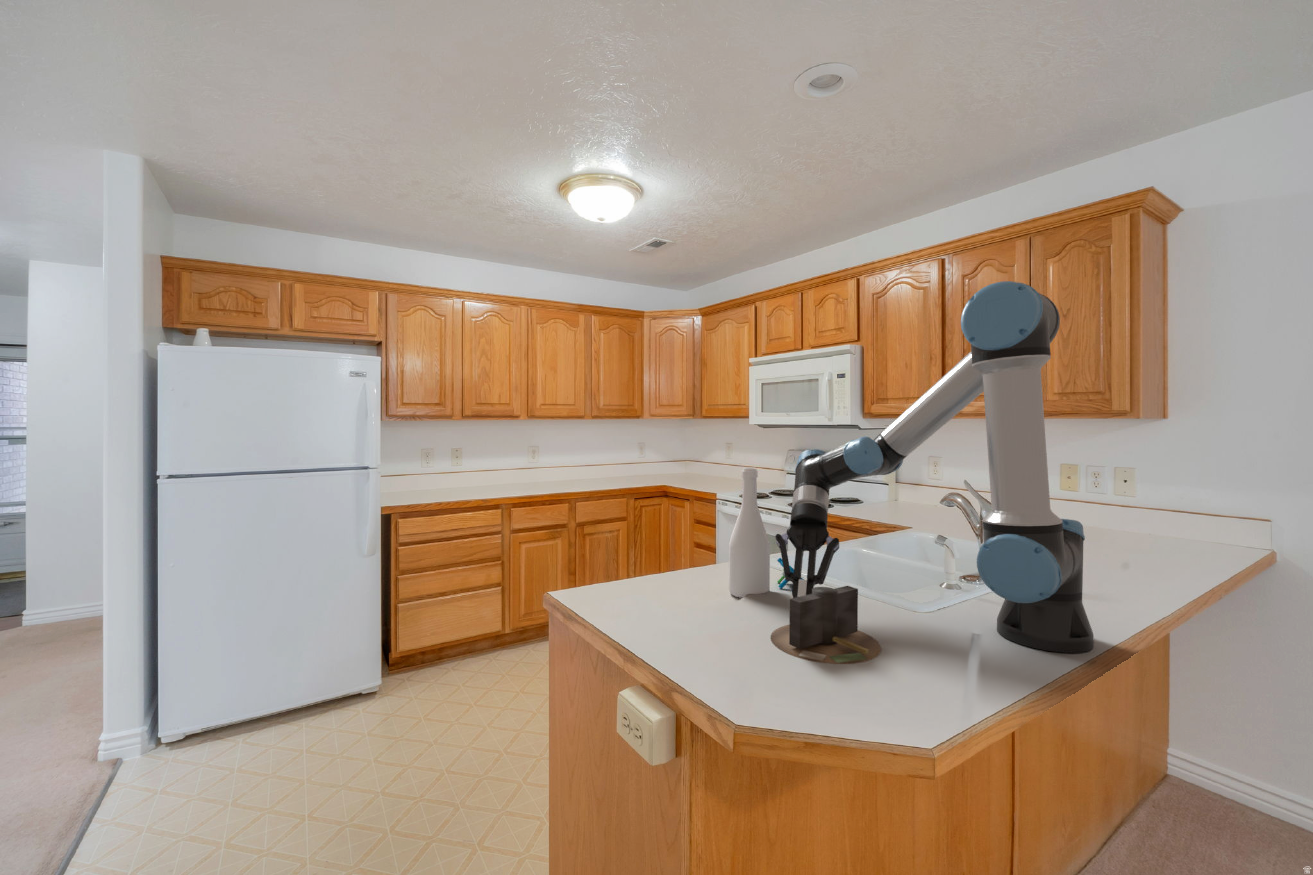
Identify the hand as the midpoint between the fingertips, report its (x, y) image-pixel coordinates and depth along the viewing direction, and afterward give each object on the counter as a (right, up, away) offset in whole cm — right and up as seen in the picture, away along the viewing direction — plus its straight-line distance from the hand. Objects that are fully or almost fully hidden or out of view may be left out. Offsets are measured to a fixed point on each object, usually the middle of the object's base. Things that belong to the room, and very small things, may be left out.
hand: (800, 613), depth 106 cm
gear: (+7, -4, +34) cm, 35 cm away
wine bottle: (-5, -4, +29) cm, 29 cm away
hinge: (+5, -3, -7) cm, 9 cm away
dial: (+3, -5, -4) cm, 7 cm away
